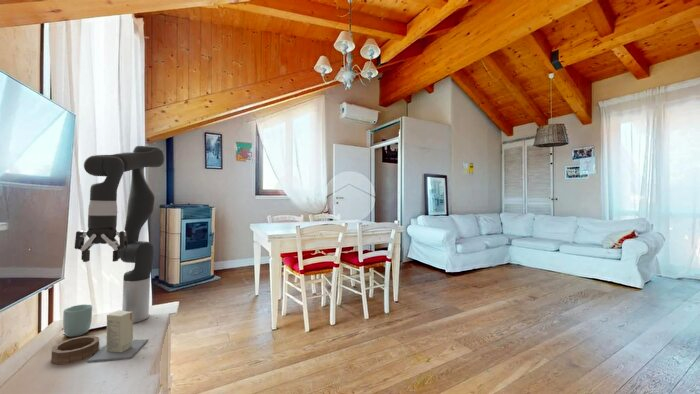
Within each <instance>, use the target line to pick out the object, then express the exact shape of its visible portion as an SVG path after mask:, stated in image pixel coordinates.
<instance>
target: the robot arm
mask: <svg viewBox="0 0 700 394" xmlns="http://www.w3.org/2000/svg"><path fill="white" fill-rule="evenodd" d="M164 162H165V152H164V150H163V149H162V148H160V147H158V146H157V147H156V146H150V145H149V146H148V145H136V146H134V148H133V151H131V152H130V151H129V152H120V153H114V154H94V155H91V156H88V157H87V158H86V159H85V160H84V163H83V168H84V171H85V172H86V173H87V174H88V175H90V176H94V177H105V178H104V181H102V182H96V183H93V184H91V185H90V190H89V205H88V210H87V211H88V213H87V231H85V230H78V231H76V233H75V239H74V249H75V250H80V251H81V261H82V262H83V263H87V262H89V261H90V260H91V259H90V258H91V248H92V246H94V245H98V244H101V245H106V244H107V245H108V246H109V247H111V248H112V262H118V261H119V260H121V261H122V262H123V263H127V264H128V263H129V264H130V263H132V264H134V268H133V269H132V270H128V271H126V272H125V273H124V274H123V280H122V283H123V285H122V304H121V305H122V308H121V311H131V312H133V324H134V323H139V322H142V321H145V320H147V319H148V318H149V317H150V316H149V315H150V313H149V312H150V291H151V290H150V288H151V285H150V283H151V273H152V270H153V266H154V265H153V262H154V251H155V250H154V245H153V244H152V243H151V242H149V241H145V240H144V241H143V240H142V241H141V240H139V239H140V234H141V230H142V228H143V226H144V225H145V223H147V221H148V220H149V218H150V217H151V216H152V214H153V212H154V205H155V194H154V192H153V190H152V189H151V187H150V185H149V183H148V182H147V180H146V177H145V168H160V167H162V166H163V164H164ZM130 171H131V177H130V178H131V179H130V186H129V194H128V202H127V209H126V217H125V219H126V220H125V224H124V229H123V230H121V231H117V225H118V223H117V222H118V204H117V203H118V202H117V198H118V189H119V186H120V182H121V179H122V177H123V175H124V173H126V172H130ZM86 237H87V238H88V239H87V240H86V242H85V238H86ZM116 237H117V238H119V241H118V239H116Z"/></svg>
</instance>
